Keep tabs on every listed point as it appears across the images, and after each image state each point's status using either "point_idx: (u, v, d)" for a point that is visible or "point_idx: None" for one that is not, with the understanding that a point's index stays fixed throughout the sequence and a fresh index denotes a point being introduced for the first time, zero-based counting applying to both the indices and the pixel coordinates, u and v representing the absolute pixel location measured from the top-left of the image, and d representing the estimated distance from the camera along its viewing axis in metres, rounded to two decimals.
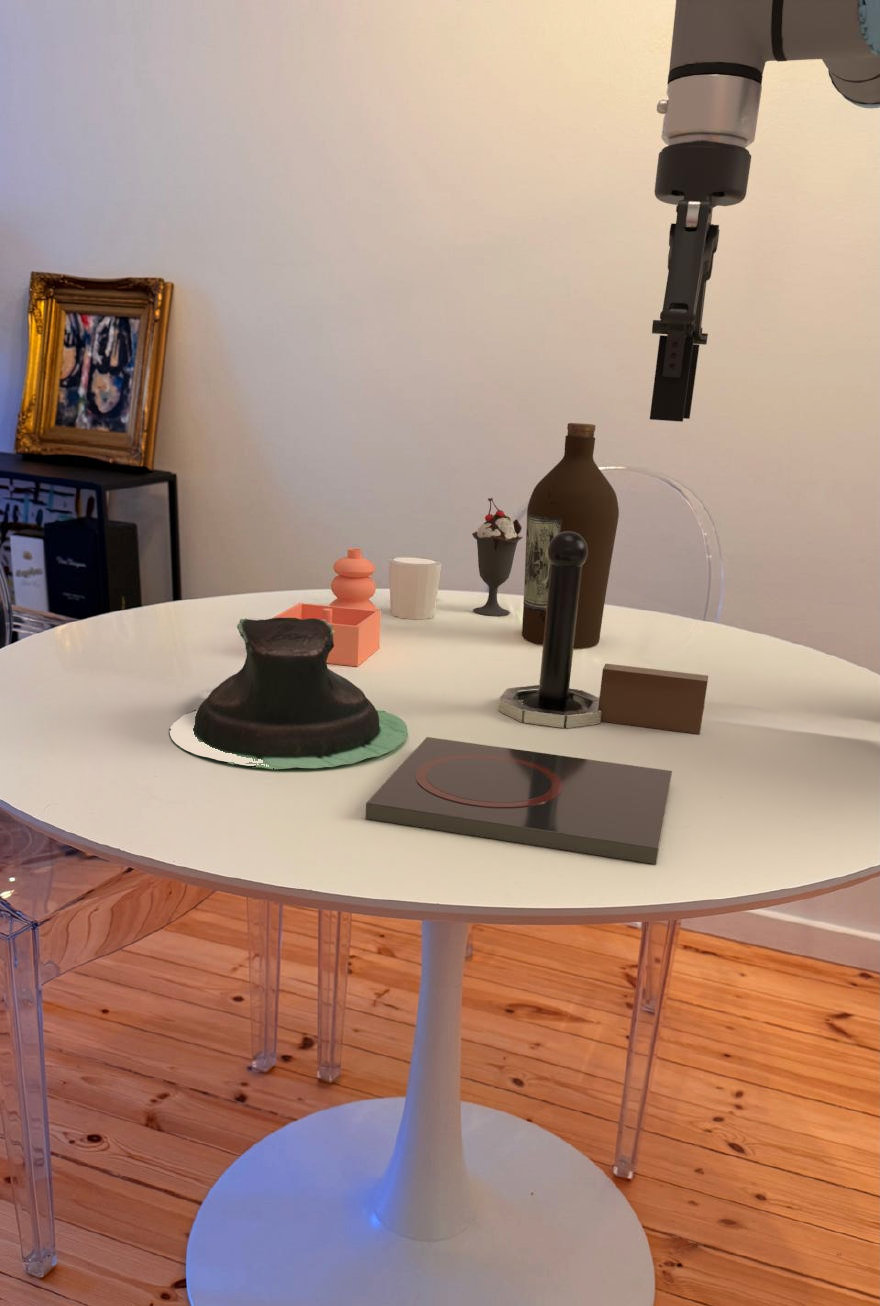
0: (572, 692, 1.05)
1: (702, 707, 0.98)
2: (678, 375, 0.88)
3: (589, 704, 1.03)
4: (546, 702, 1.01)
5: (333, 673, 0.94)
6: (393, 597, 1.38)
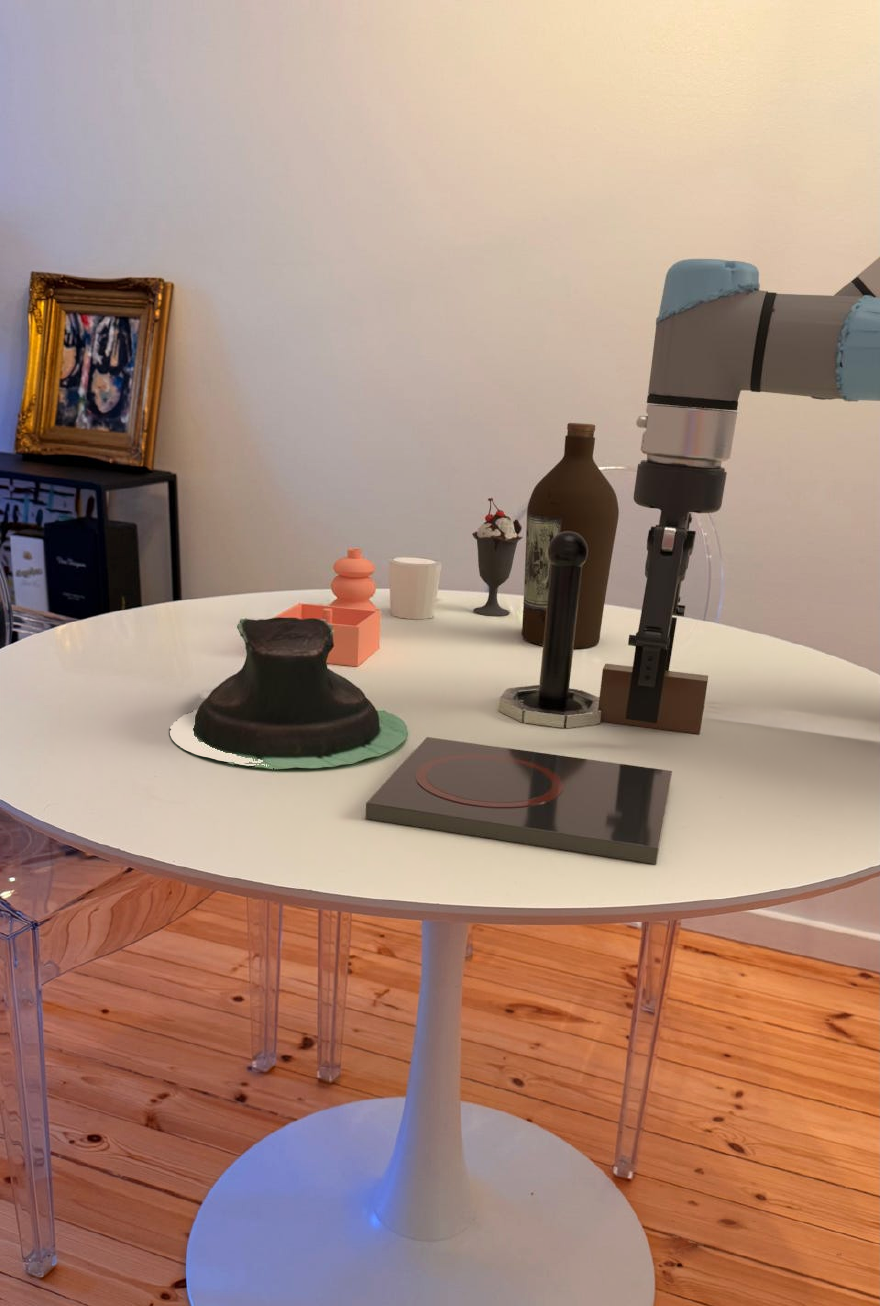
0: (572, 692, 1.05)
1: (702, 707, 0.98)
2: (653, 685, 0.91)
3: (589, 704, 1.03)
4: (546, 702, 1.01)
5: (333, 673, 0.94)
6: (393, 597, 1.38)
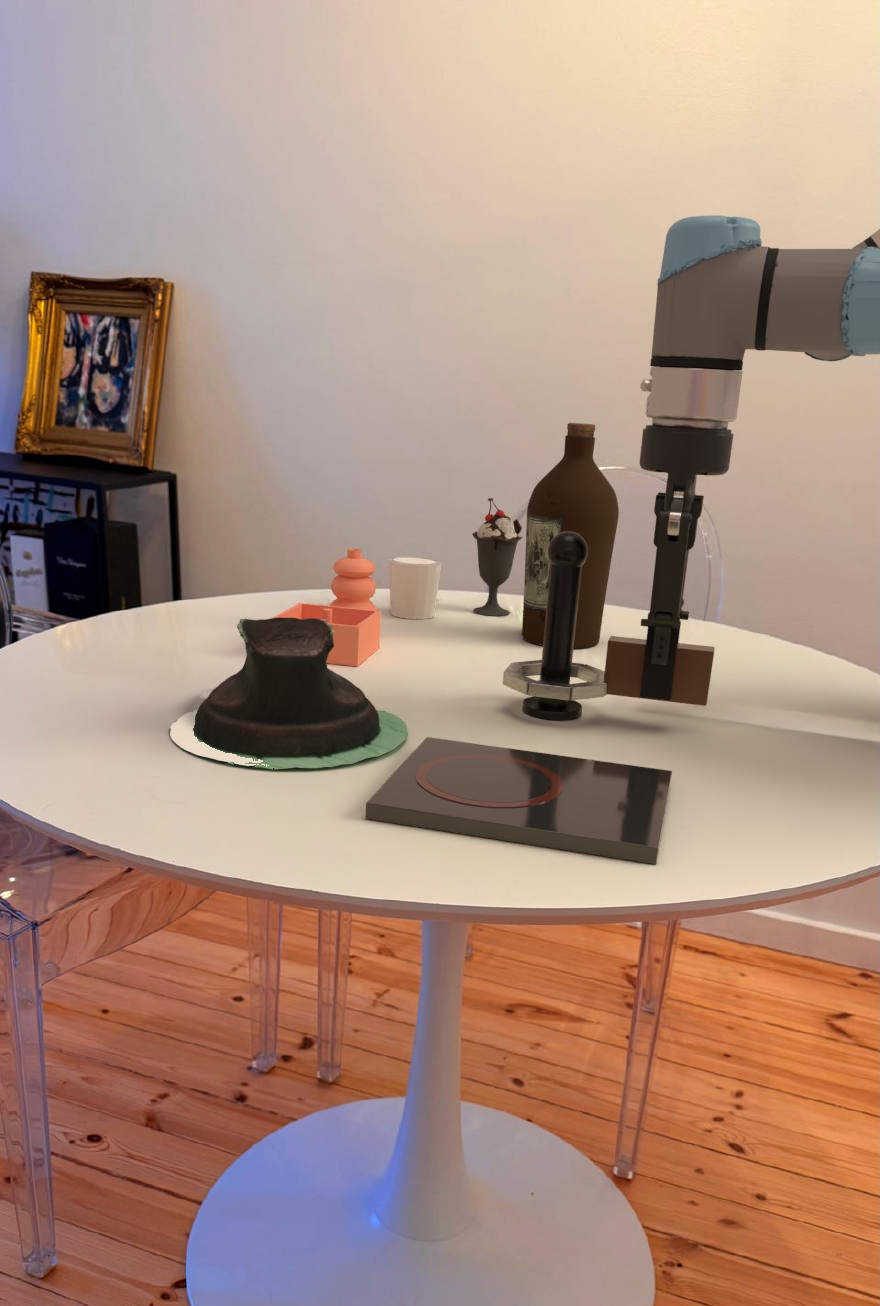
0: (577, 666, 1.04)
1: (709, 678, 0.97)
2: (665, 663, 0.95)
3: (594, 678, 1.02)
4: (546, 702, 1.01)
5: (333, 673, 0.94)
6: (393, 597, 1.38)
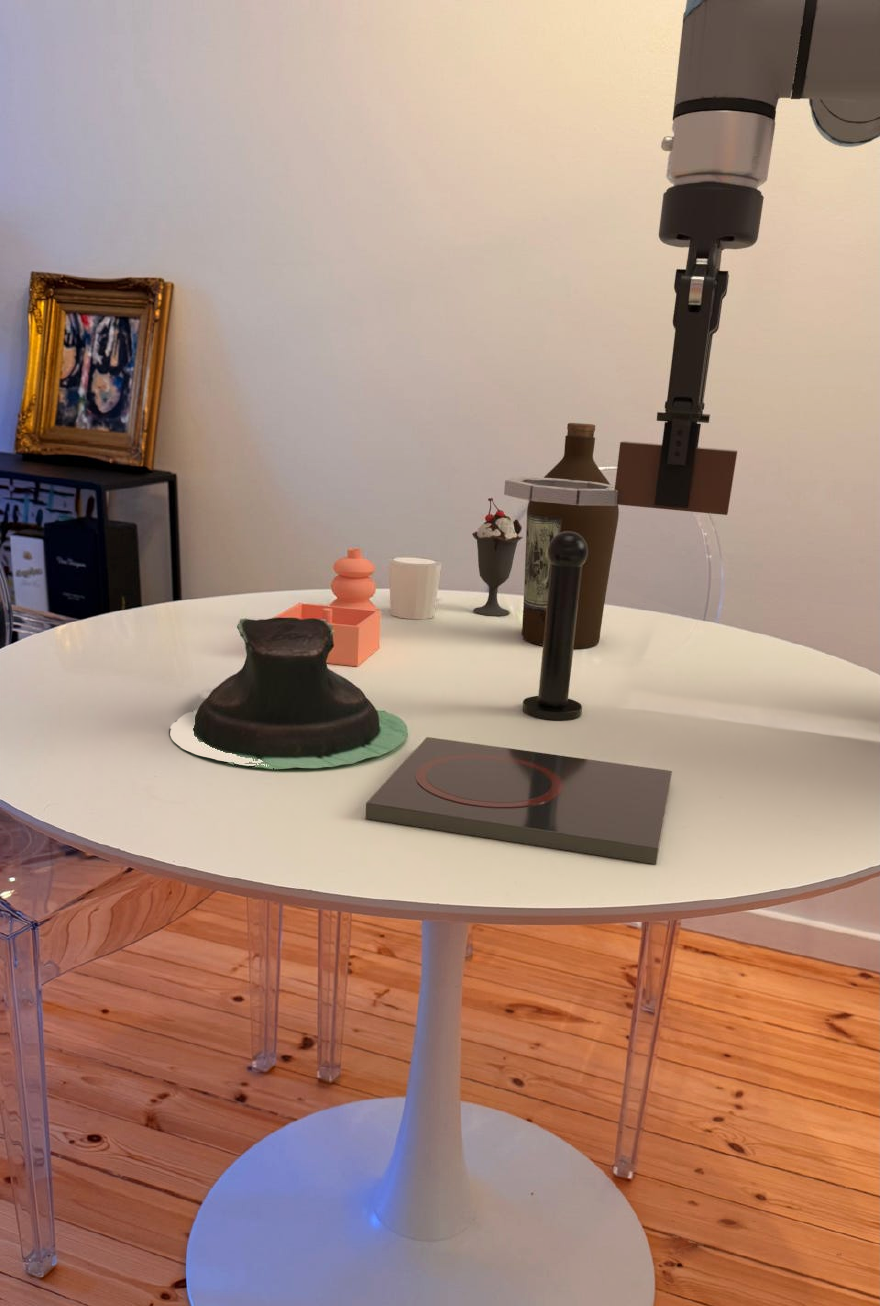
0: (586, 482, 0.95)
1: (730, 482, 0.88)
2: (683, 463, 0.87)
3: None
4: (546, 702, 1.01)
5: (333, 673, 0.94)
6: (393, 597, 1.38)
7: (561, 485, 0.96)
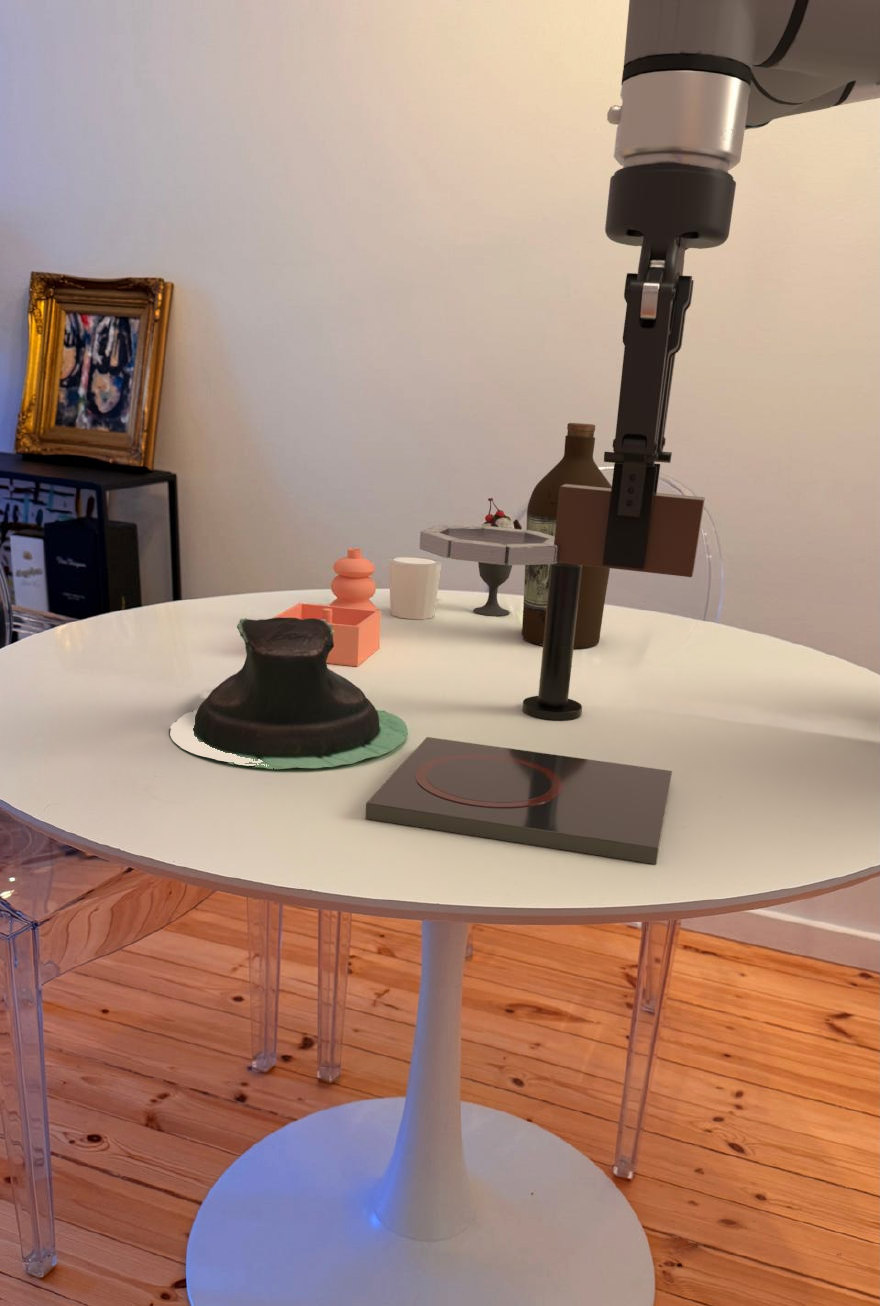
0: (522, 532, 0.78)
1: (696, 538, 0.71)
2: (637, 515, 0.70)
3: None
4: (546, 702, 1.01)
5: (333, 673, 0.94)
6: (393, 597, 1.38)
7: (492, 535, 0.79)
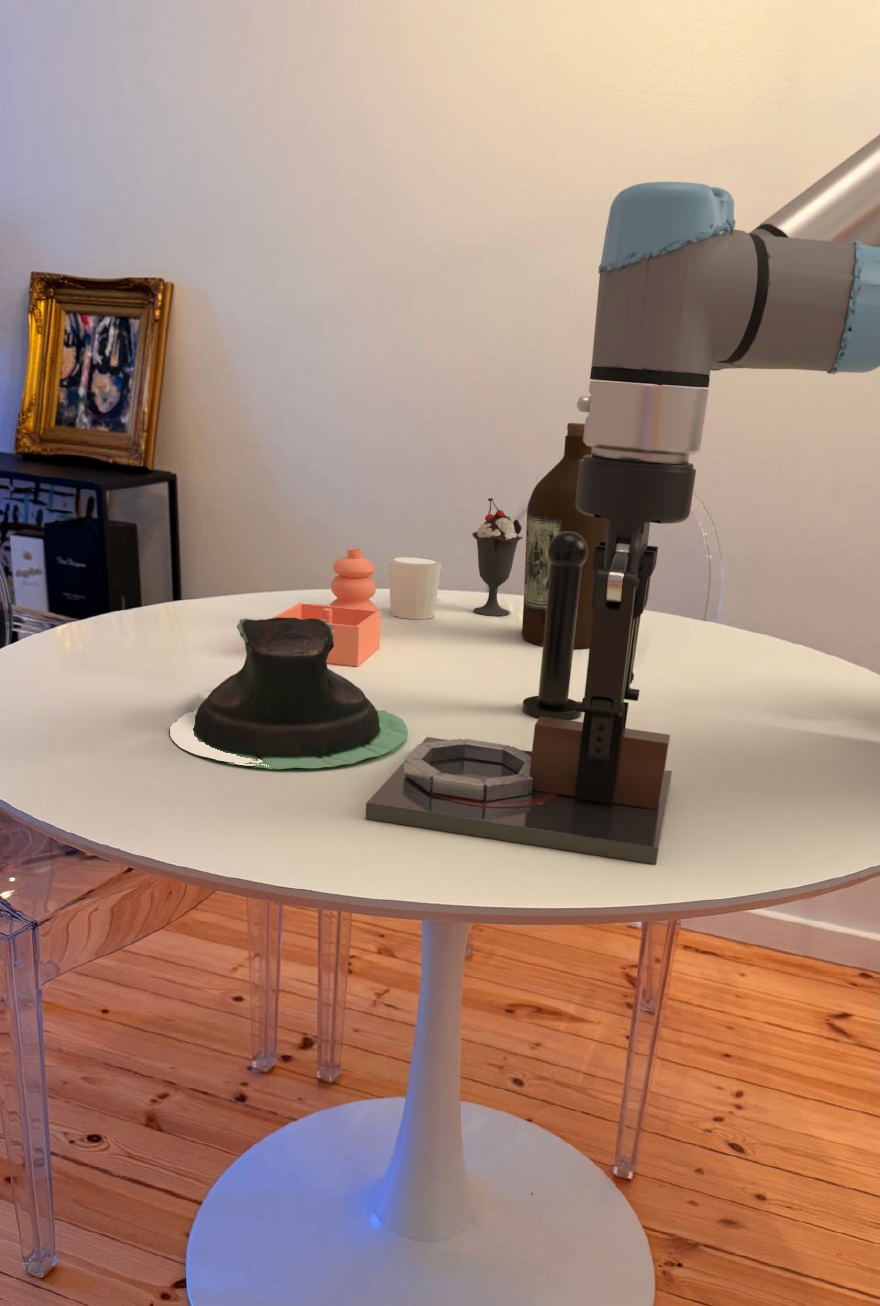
0: (501, 749, 0.83)
1: (661, 776, 0.76)
2: (605, 760, 0.75)
3: (521, 766, 0.81)
4: (546, 702, 1.01)
5: (333, 673, 0.94)
6: (393, 597, 1.38)
7: (473, 750, 0.84)
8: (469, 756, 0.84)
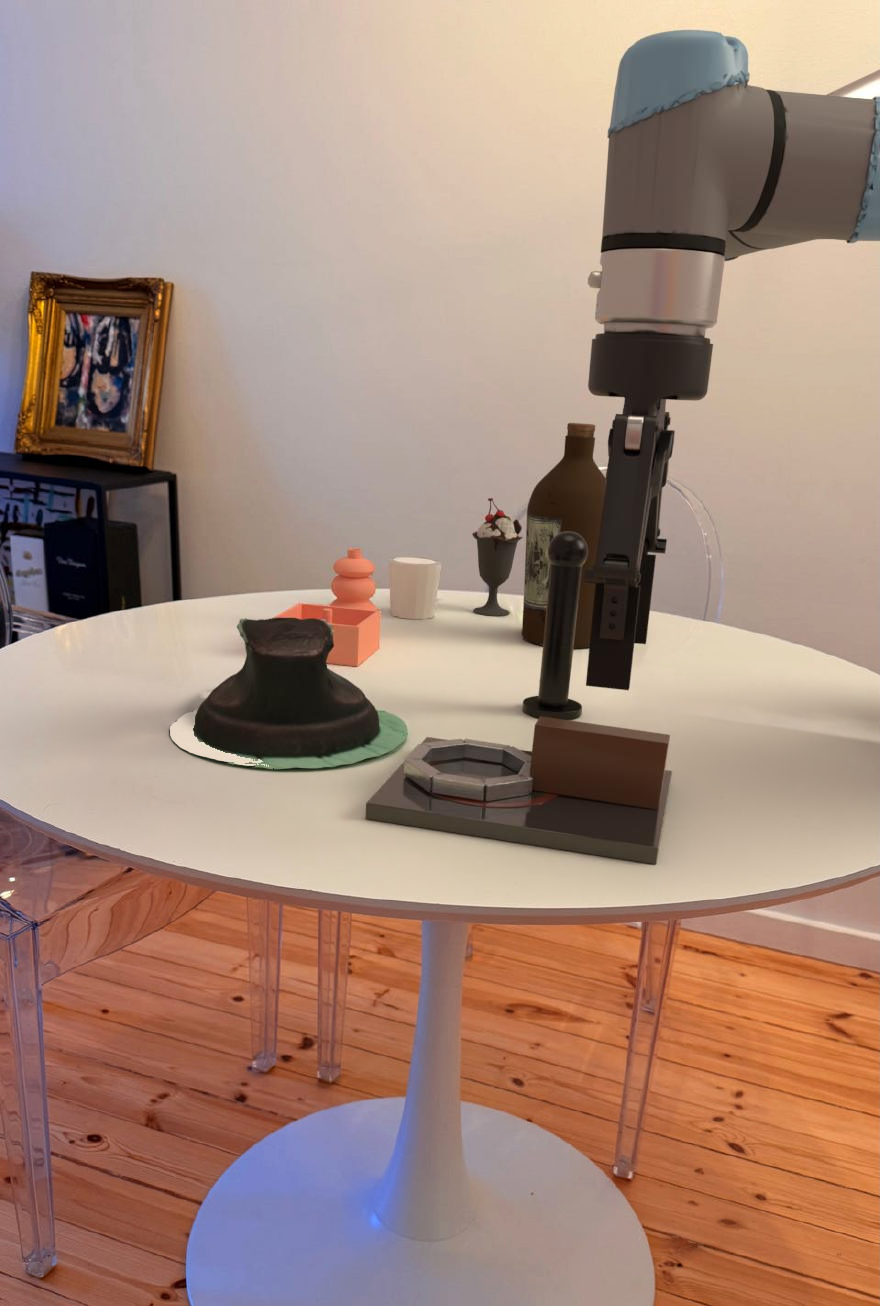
0: (501, 749, 0.83)
1: (661, 776, 0.76)
2: (620, 638, 0.66)
3: (521, 766, 0.81)
4: (546, 702, 1.01)
5: (333, 673, 0.94)
6: (393, 597, 1.38)
7: (473, 750, 0.84)
8: (469, 756, 0.84)
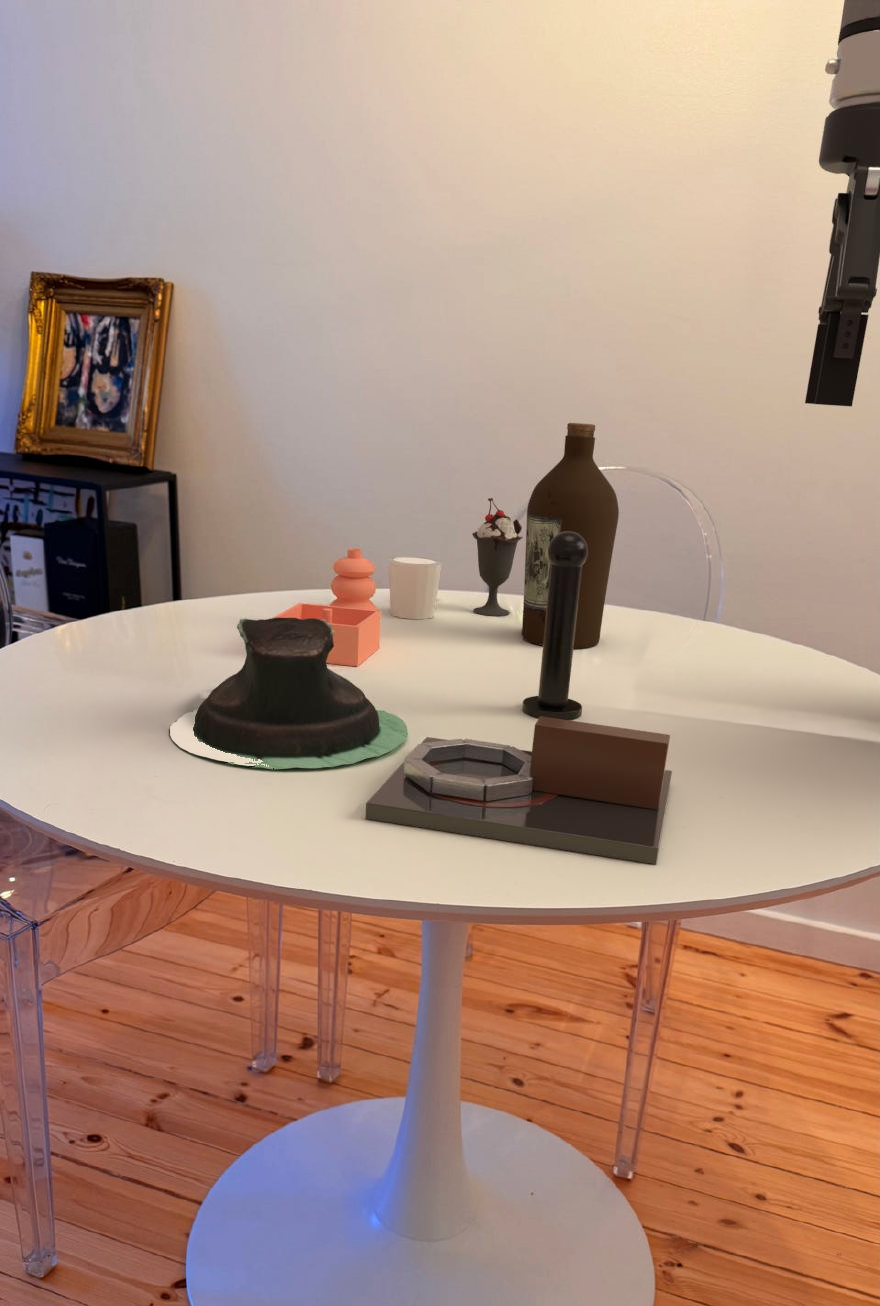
0: (501, 749, 0.83)
1: (661, 776, 0.76)
2: (851, 356, 0.81)
3: (521, 766, 0.81)
4: (546, 702, 1.01)
5: (333, 673, 0.94)
6: (393, 597, 1.38)
7: (473, 750, 0.84)
8: (469, 756, 0.84)
